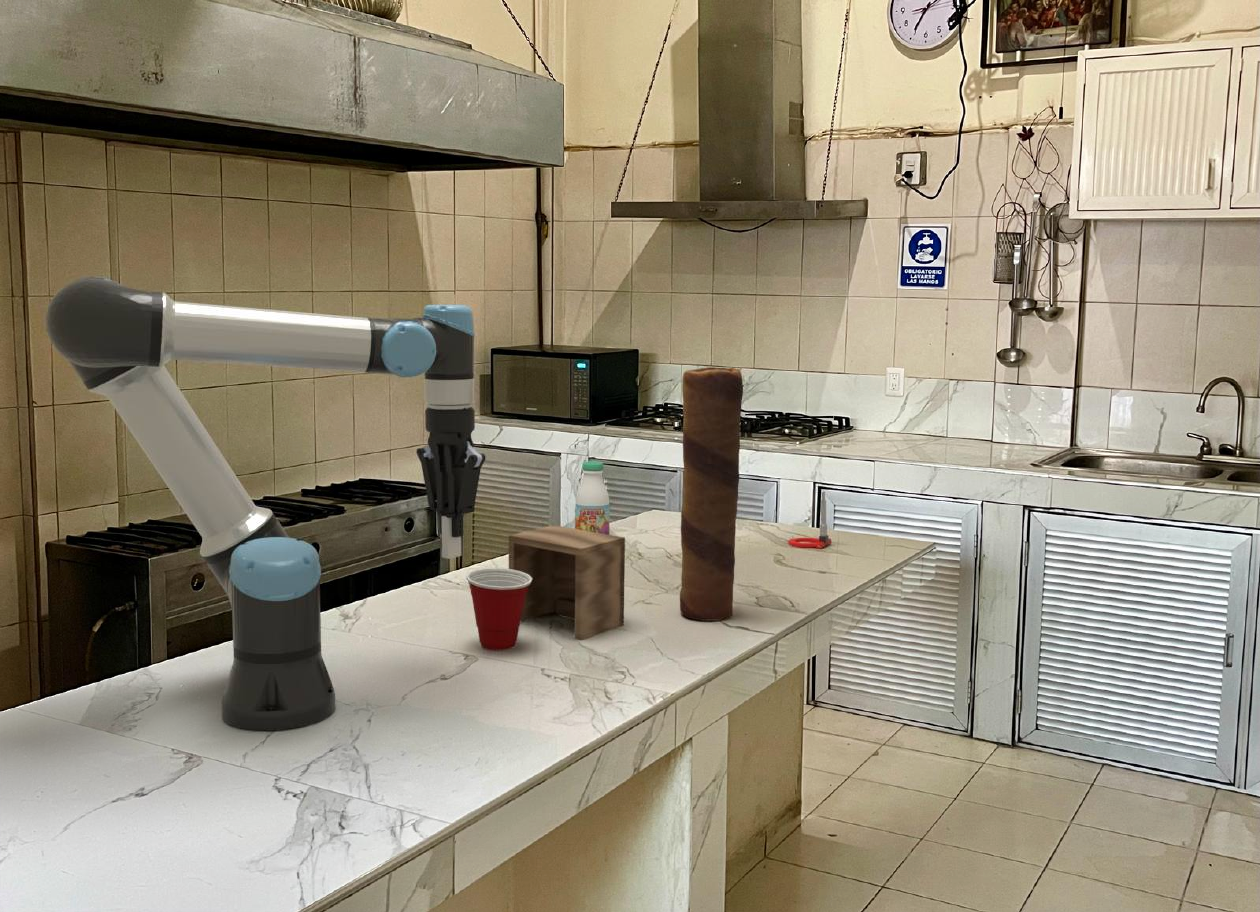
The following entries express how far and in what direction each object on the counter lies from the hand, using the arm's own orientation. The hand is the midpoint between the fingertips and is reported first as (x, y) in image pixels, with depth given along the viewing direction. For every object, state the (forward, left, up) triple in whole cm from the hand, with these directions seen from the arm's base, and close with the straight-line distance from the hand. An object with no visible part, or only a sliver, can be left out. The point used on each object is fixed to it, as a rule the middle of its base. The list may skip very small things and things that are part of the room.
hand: (451, 556), depth 188 cm
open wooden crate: (+28, 0, -17) cm, 33 cm away
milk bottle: (+77, +34, -17) cm, 86 cm away
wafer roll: (+49, -16, -17) cm, 54 cm away
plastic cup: (+11, 0, -17) cm, 20 cm away
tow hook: (+115, 0, -17) cm, 116 cm away
